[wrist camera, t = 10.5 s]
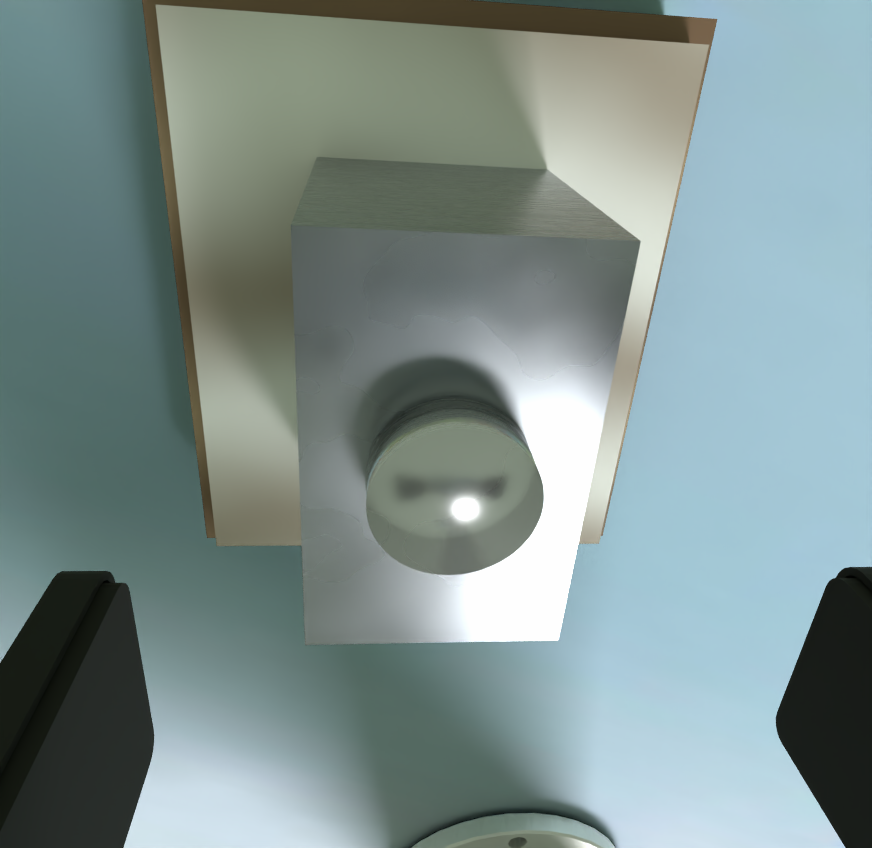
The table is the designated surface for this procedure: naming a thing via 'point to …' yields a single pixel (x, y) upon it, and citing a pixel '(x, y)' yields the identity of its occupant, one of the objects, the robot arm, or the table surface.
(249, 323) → the stand
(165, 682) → the table surface
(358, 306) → the block
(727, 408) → the table surface
